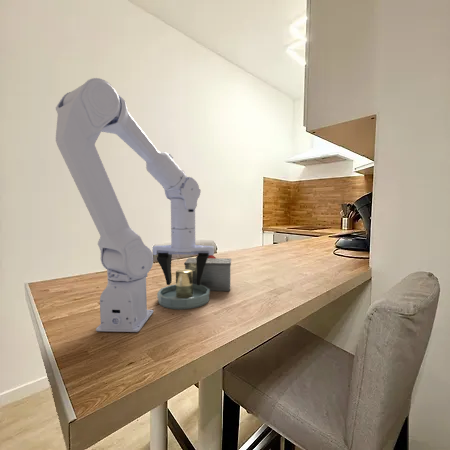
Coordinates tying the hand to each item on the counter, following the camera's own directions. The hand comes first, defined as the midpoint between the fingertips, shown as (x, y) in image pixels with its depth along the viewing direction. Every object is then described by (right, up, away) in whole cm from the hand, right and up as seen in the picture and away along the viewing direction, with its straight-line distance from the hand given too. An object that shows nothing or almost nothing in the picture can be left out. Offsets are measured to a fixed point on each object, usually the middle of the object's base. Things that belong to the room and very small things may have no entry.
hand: (183, 284), depth 67 cm
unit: (+5, -3, +10) cm, 12 cm away
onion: (+5, -2, +22) cm, 23 cm away
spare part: (0, -3, 0) cm, 3 cm away
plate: (0, -4, 0) cm, 4 cm away
